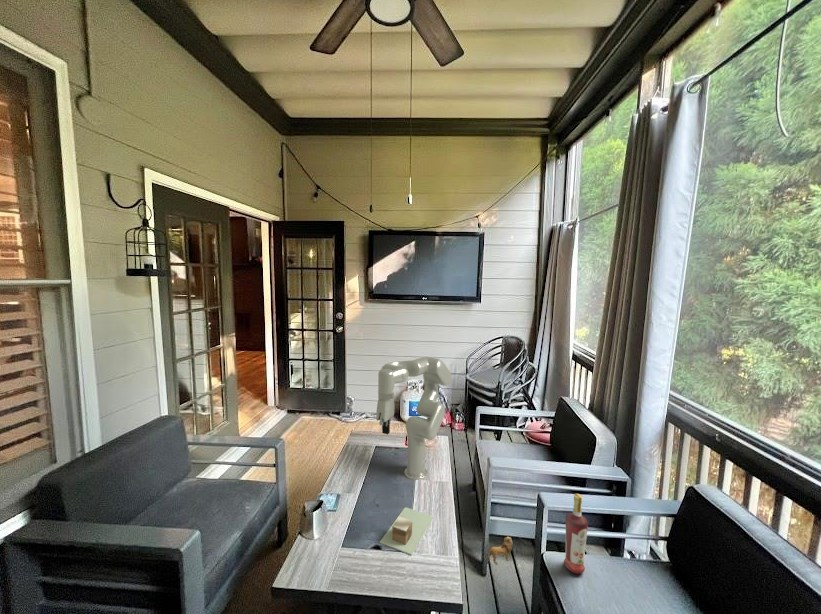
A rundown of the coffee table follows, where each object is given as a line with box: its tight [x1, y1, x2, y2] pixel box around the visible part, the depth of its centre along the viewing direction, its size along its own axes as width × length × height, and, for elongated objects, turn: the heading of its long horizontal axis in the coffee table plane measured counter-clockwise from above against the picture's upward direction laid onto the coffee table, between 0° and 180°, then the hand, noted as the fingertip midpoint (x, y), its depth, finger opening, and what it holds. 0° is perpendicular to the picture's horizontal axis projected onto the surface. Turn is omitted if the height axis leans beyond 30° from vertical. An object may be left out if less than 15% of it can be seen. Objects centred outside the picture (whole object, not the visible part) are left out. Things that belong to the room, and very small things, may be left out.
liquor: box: [563, 493, 589, 575], centre depth 123 cm, size 7×7×28 cm
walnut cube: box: [391, 516, 412, 545], centre depth 137 cm, size 6×6×6 cm
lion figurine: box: [486, 536, 513, 566], centre depth 127 cm, size 12×4×7 cm, turn 117°
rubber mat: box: [379, 506, 434, 556], centre depth 142 cm, size 23×14×1 cm, turn 155°
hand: (385, 433), depth 160 cm, fingers closed
